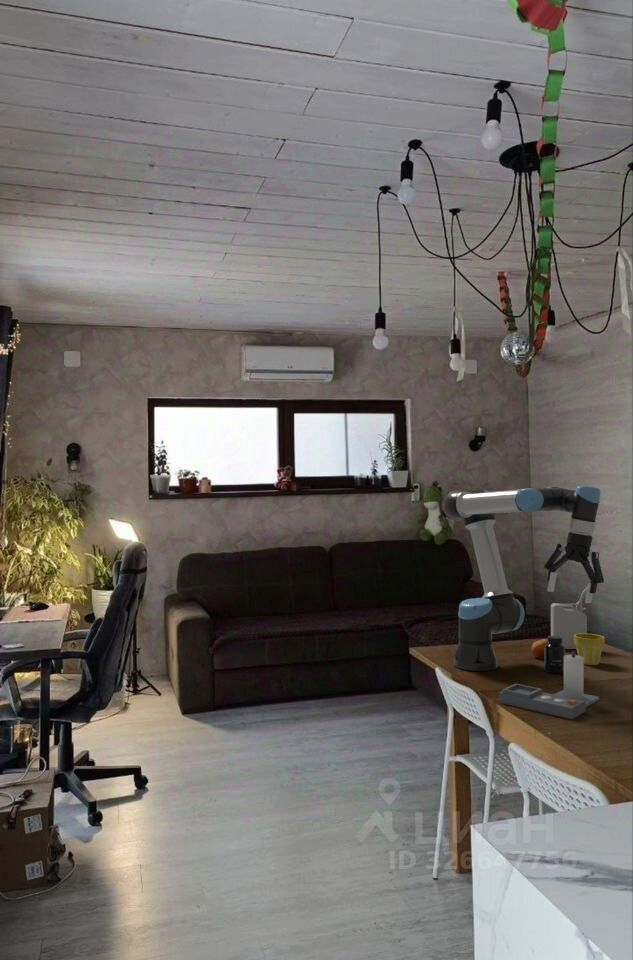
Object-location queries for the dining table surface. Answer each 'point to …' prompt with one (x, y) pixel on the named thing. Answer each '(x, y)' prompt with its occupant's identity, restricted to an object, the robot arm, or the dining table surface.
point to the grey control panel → (541, 701)
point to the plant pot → (589, 647)
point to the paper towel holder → (574, 676)
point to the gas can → (568, 621)
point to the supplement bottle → (554, 655)
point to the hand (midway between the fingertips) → (568, 597)
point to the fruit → (539, 648)
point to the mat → (587, 698)
